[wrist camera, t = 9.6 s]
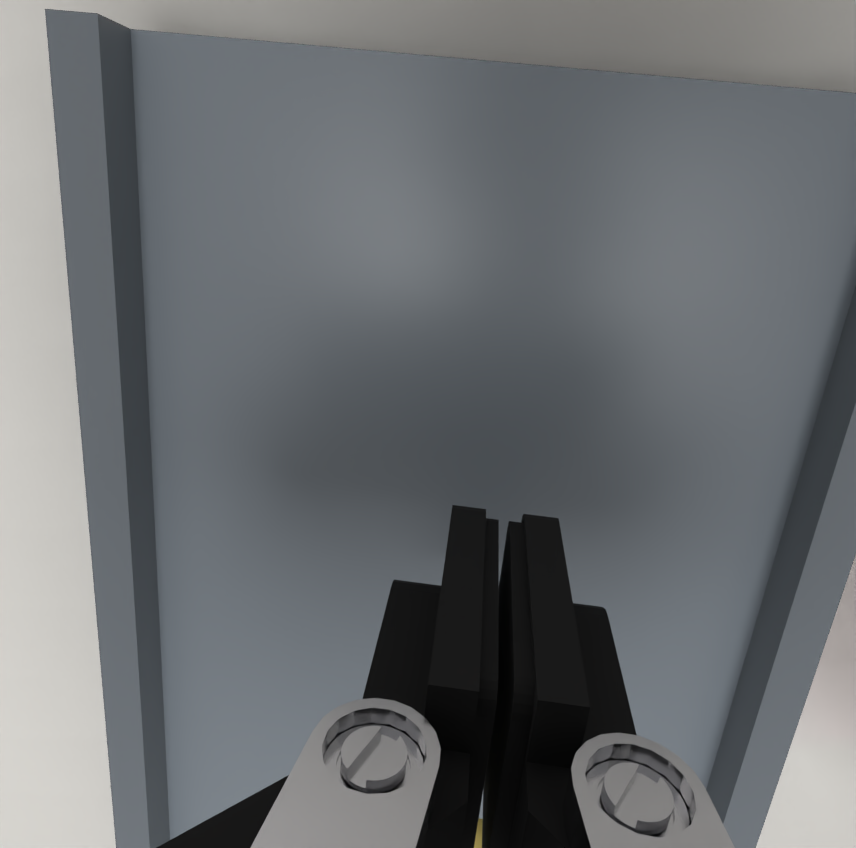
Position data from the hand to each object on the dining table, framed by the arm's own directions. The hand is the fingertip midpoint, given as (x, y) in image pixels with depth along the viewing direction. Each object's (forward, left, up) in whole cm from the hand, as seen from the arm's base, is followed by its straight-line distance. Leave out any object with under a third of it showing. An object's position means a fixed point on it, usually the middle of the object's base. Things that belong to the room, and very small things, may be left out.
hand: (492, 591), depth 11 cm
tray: (+5, -1, -5) cm, 7 cm away
